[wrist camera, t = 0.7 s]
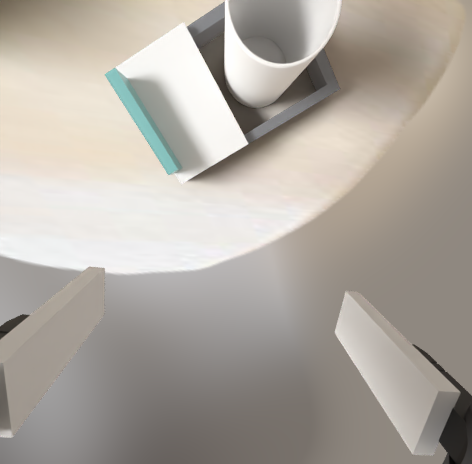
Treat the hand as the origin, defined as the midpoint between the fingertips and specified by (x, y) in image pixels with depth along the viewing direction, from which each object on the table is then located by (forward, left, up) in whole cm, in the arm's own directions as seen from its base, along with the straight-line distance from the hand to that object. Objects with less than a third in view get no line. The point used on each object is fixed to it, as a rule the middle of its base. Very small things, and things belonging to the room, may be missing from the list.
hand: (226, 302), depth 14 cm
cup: (-14, +13, -25) cm, 31 cm away
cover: (-14, +2, -21) cm, 25 cm away
